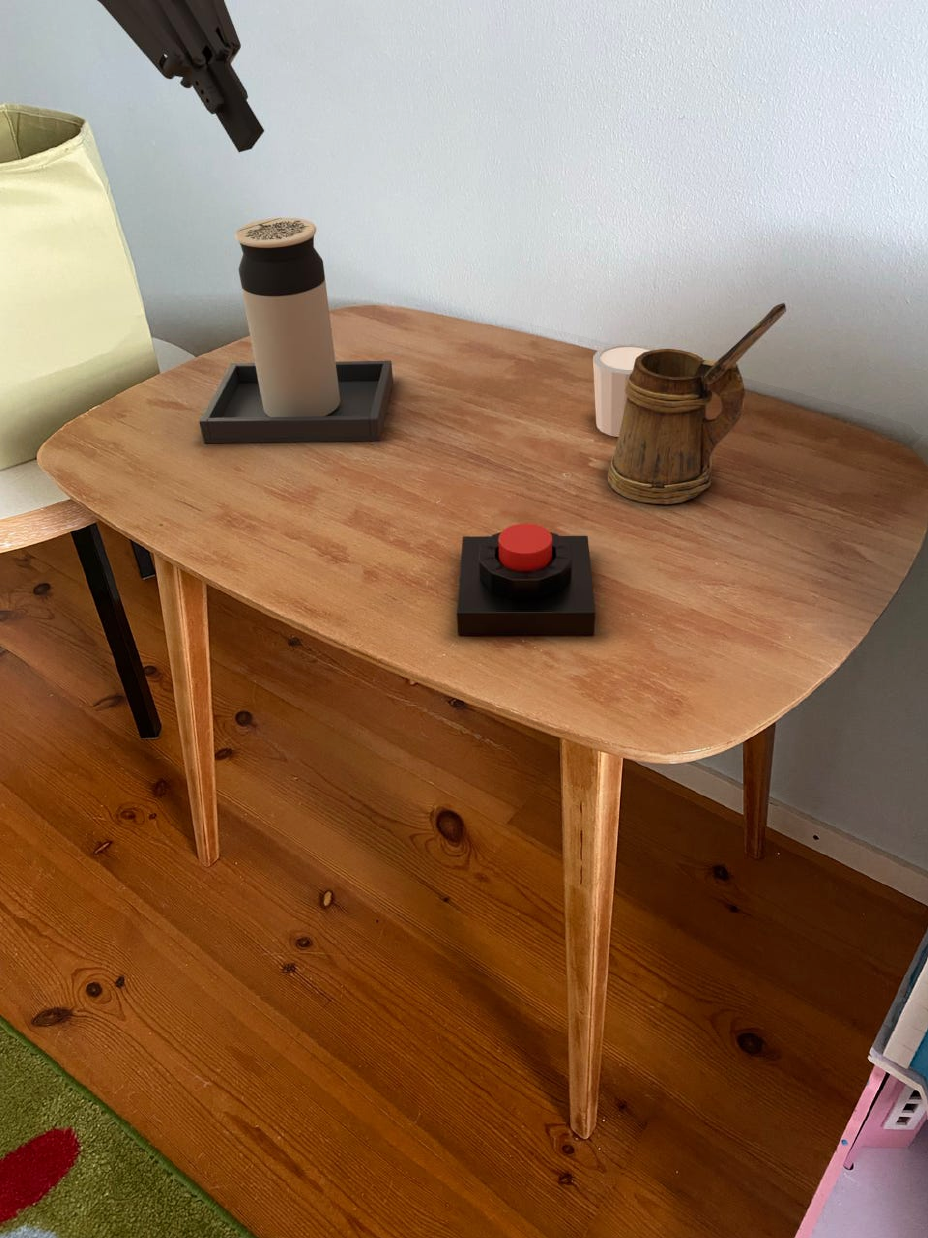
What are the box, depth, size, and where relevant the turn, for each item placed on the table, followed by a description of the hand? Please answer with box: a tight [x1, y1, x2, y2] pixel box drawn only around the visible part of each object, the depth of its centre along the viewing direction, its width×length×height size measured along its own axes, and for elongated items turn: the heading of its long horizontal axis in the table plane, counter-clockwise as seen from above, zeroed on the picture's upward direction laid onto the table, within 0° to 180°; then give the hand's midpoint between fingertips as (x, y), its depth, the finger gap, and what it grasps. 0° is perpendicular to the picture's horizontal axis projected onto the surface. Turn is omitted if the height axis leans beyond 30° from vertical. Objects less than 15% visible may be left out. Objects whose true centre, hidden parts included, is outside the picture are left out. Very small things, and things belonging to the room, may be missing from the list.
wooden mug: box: [607, 302, 787, 505], centre depth 82 cm, size 9×14×18 cm, turn 54°
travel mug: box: [234, 217, 340, 417], centre depth 97 cm, size 8×8×18 cm
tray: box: [198, 360, 394, 444], centre depth 102 cm, size 18×14×2 cm
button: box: [499, 523, 552, 571], centre depth 74 cm, size 4×4×2 cm
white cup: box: [592, 343, 657, 438], centre depth 96 cm, size 7×7×7 cm
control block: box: [456, 531, 596, 637], centre depth 75 cm, size 10×10×4 cm
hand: (251, 141), depth 86 cm, fingers closed
